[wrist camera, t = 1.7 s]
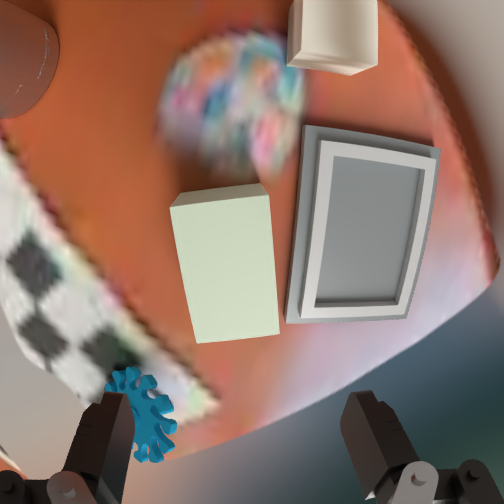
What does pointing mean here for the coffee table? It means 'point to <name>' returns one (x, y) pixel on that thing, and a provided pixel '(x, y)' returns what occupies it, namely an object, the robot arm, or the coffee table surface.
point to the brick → (227, 261)
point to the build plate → (358, 226)
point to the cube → (333, 35)
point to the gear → (146, 414)
